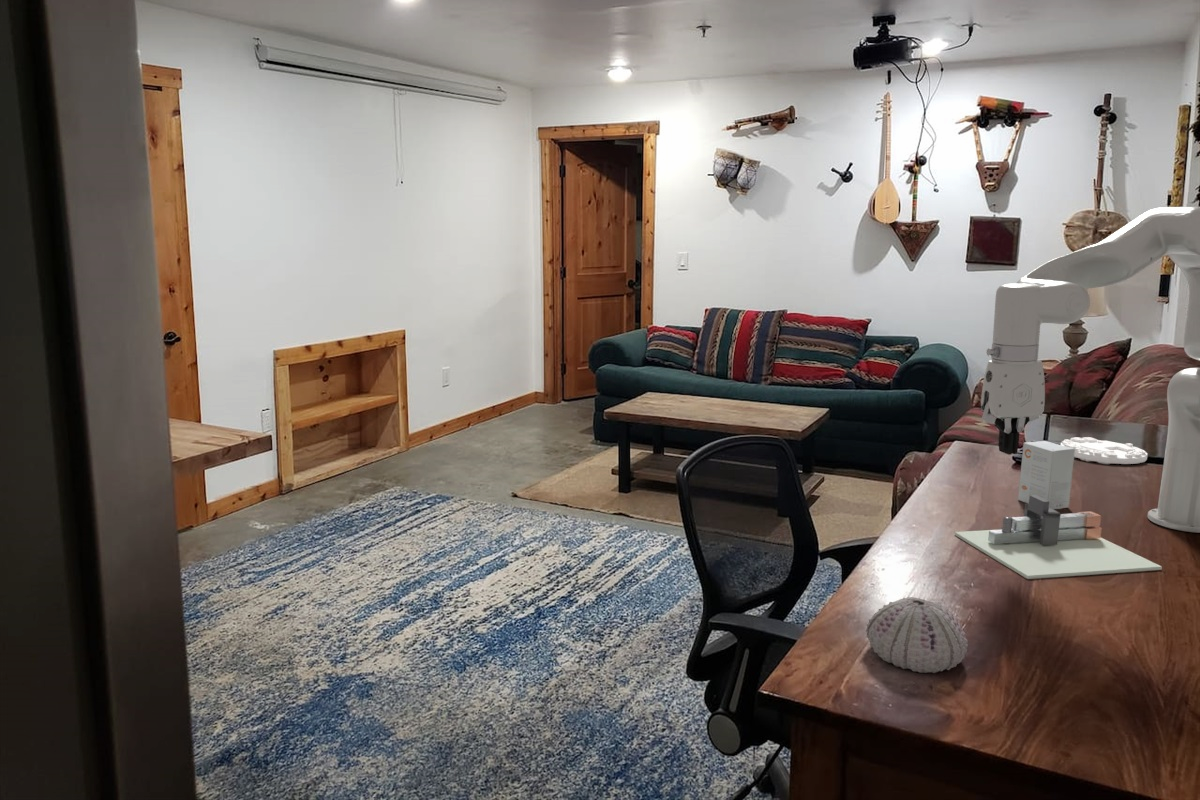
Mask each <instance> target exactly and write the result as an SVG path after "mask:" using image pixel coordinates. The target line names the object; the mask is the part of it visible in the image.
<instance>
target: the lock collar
mask: <svg viewBox="0 0 1200 800" xmlns="http://www.w3.org/2000/svg"><path fill="white" fill-rule="evenodd" d="M1023 511H1024V513H1023V517H1026V516H1042V517H1043V519H1042V528H1041V537H1040V544H1041V545H1057V541H1058V533H1059V524H1060V515H1061V514H1062V513H1061V512H1060V511H1057V510H1056V509H1054V510H1053V509H1051V508H1049V501H1047V500H1045V499H1043V498H1041V497H1039V496H1036V495H1030V497H1029V504H1028V503H1025V504H1024V510H1023Z"/></svg>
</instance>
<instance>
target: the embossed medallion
mask: <svg viewBox="0 0 1200 800" xmlns="http://www.w3.org/2000/svg"><path fill="white" fill-rule="evenodd" d="M1059 445H1062V446H1066V447H1069V448H1073V449H1075V453H1074V459H1076V458H1078V459H1080V460H1081V461H1085V462H1096V463H1097V464H1103V465H1110V464H1116V465H1119V464H1121V465H1131V464H1132V465H1133V464H1140V463H1141V464H1142V463H1145V462H1146V461H1147V460H1148V454H1149V453H1148V452H1147V451H1146V450H1144V449H1142V448H1139V447H1138V446H1133V445H1134V444H1133V443H1128V442H1126V443H1120V442H1116V441H1115V442H1114V441H1110V440H1107V439H1106V440H1100V439H1097V438H1094V437H1089V436H1085V437H1084V436H1083V437H1079V436H1078V437H1077V436H1074V437H1070V439H1066V438H1064V440H1062V441H1061V442H1060V444H1059Z"/></svg>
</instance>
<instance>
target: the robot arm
mask: <svg viewBox="0 0 1200 800" xmlns="http://www.w3.org/2000/svg"><path fill="white" fill-rule="evenodd" d="M1165 256H1168V257H1169V259H1170V260H1171V261H1172V262H1173V263H1174V265H1176V266H1177V267H1178V268H1179V270H1181V272H1182V273H1183V275H1184V276H1185V279H1186V280H1187V284H1188V289H1189V294H1188V295H1189V296H1188V306H1187V312H1186V319H1185V328H1184V333H1183V349H1184V353H1185V354H1186V355H1187V357H1189V358H1192V359H1194V360H1197V361H1200V206H1163V207H1156V208H1152V209H1149V210H1147V211H1145V212H1143V213H1142V214H1140V215H1139V216H1137V217H1136V218H1134V219H1133V220H1131V221H1129V222H1127V223H1126V224H1125V225H1123V226H1122V227H1121V228H1119V229H1117V230H1115V232H1113V233H1111V234H1110V235H1108V236H1107V237H1105V238H1104V239H1102V240H1100V241H1099V242H1097V243H1095V244H1092V245H1089V246H1086V247H1083V248H1080V249H1078V250H1075V251H1073V252H1069V253H1067V254H1064V255H1062V256H1059V257H1056V258H1053V259H1052V260H1049V261H1047V262H1045V263H1043V264H1041V265H1040V266H1038V267H1036V268H1034V269H1032V271H1030V272H1029V273H1027V274H1026V275H1024V276H1022V277H1021V278H1019V280H1017V281H1016V283H1005V284H1004V283H1003V284H1002V285H1000V286H999V287H997V289H996V291H995V299H994V300H995V302H994V317H993V331H992V344H991V348H987V349H986V355H987V356H988V357H991V359H990V360H988V363H987V366H986V369H985V372H984V377H983V383H982V390H981V399H980V408H981V409H980V410H981V412H983V413H982V417H981V421H982V422H984V423H987V424H989V425H993V426H994V427H995V428H996V430H997V431H999V433H998V445H997V446H998V451H999V452H1001V453H1003V454H1006V455H1017V454H1018V450H1019V444H1020V433H1022V432H1023V430H1024V428H1025V426H1026V425H1028V423H1031V422H1033V421H1036V420H1038V419H1039V418H1040V415H1042V414H1043V413H1044V410H1045V405H1046V404H1045V402H1046V401H1045V400H1046V385H1045V384H1046V383H1045V382H1046V381H1045V372H1044V371H1045V370H1044V365H1043V361H1041V360H1039V348H1040V347H1039V346H1040V336H1041V335H1040V333H1041V325H1042V324H1055V325H1070V324H1072V323H1076V322H1079V320H1082V318H1084V317H1085V315H1086V314H1087V313H1088V311H1089V309H1090V306H1091V298H1090V294H1089V293H1088V291H1087V289H1095V288H1096V289H1097V288H1104V287H1108V286H1114V285H1117V284H1121V283H1125V282H1127V281H1129V280H1130V279H1132V278H1133V277H1135V276H1136V275H1138V274H1139V273H1141V272H1142V271H1144V270H1146V269H1147V268H1148V267H1149V266H1151V265H1152V264H1154V263H1155V262H1157V261H1158V260H1160V259H1162V258H1163V257H1165ZM1166 391H1167V392H1166V398H1167V409H1168V410H1167V411H1168V423H1167V425H1168V426H1167V437H1166V444H1165V449H1164V450H1165V451H1164V459H1163V467H1162V473H1161V480H1160V481H1161V482H1160V488H1159V495H1158V501H1157V502H1158V503H1157V508H1152V509H1150V510H1148V512H1147V519H1148V520H1149V521H1151V522H1152V523H1154V524H1156V525H1159V526H1161V527H1164V528H1167V529H1171V530H1176V531H1180V532H1181V531H1182V532H1189V533H1198V534H1199V533H1200V367H1189V368H1184V369H1181V370H1180V371H1178V372H1176V373H1175V374H1174V375H1173V376H1172V377H1171V378H1170V380H1169V382H1168V386H1167V389H1166Z"/></svg>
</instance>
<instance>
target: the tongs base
mask: <svg viewBox="0 0 1200 800" xmlns="http://www.w3.org/2000/svg"><path fill="white" fill-rule="evenodd" d="M1012 519H1013V518H1011V516H1003V517H1002V526H1001V529H1002V530H999V529H988V530H989V536H988V541H990V542H991V543H993V544H1010V543H1018V542H1035V541H1040V537H1041V529H1036V530H1022V531H1015V530H1013V529H1012ZM1102 530H1103V528H1102V527H1101V526H1090V527H1086V526H1079V527H1064V528H1059V533H1058V540H1067V539H1083V538H1085V539H1097V538H1102Z"/></svg>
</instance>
